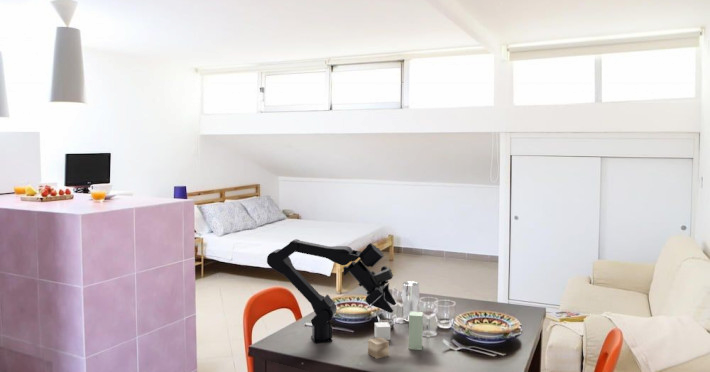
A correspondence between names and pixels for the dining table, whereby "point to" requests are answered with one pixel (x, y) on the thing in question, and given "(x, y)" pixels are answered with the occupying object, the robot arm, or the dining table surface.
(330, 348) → the dining table surface
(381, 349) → the oak cube
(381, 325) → the white cube
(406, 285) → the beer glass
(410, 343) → the sage block
